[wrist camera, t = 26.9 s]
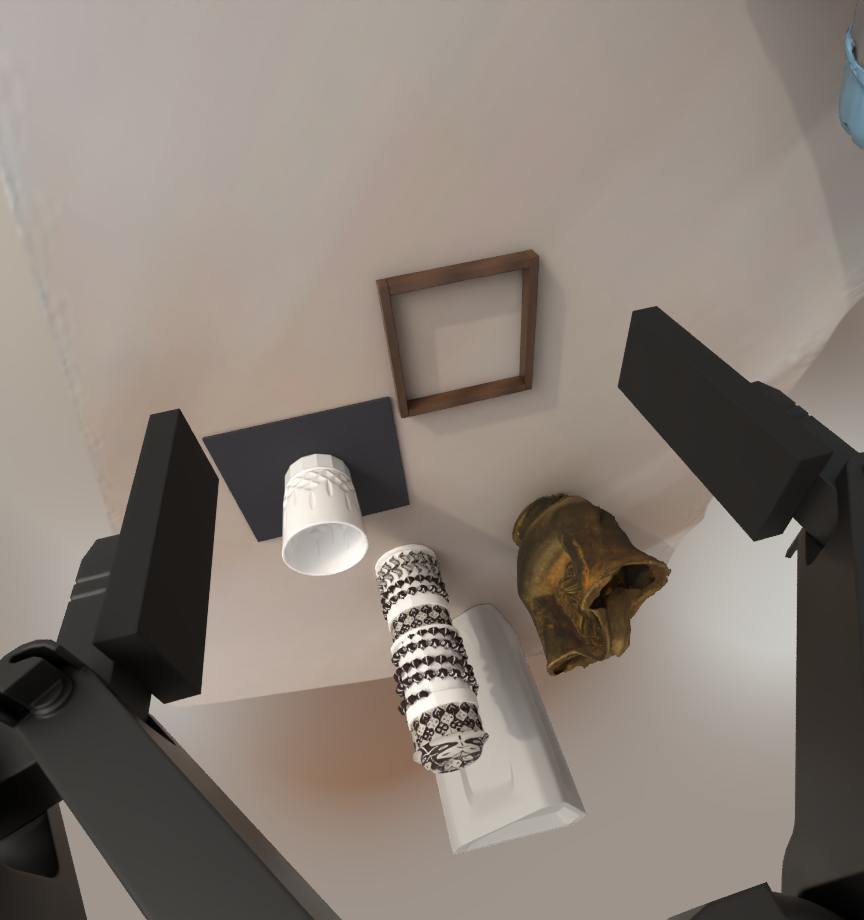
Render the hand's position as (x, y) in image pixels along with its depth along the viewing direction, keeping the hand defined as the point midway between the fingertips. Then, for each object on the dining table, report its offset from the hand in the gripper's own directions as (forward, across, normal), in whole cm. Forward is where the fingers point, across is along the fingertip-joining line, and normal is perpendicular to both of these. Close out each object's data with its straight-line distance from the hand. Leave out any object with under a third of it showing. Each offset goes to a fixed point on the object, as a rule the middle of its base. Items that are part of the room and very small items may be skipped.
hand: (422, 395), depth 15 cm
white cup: (+29, -8, -29) cm, 42 cm away
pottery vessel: (+29, +19, -47) cm, 58 cm away
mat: (+29, -8, -29) cm, 42 cm away
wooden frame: (+29, +8, -16) cm, 34 cm away
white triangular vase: (+29, +7, -72) cm, 78 cm away
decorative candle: (+29, -1, -49) cm, 57 cm away
